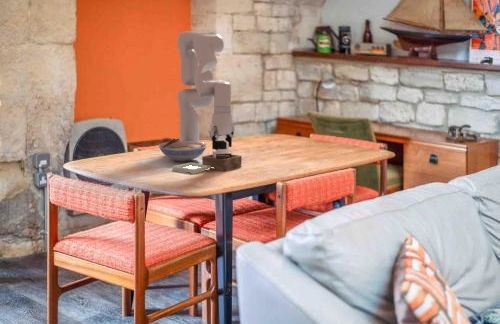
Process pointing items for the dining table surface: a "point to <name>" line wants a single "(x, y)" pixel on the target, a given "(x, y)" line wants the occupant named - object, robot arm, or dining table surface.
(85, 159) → the dining table surface
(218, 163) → the holder
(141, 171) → the dining table surface
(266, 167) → the dining table surface
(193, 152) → the ramen bowl
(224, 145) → the medicine bottle
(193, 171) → the tray
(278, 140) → the dining table surface
